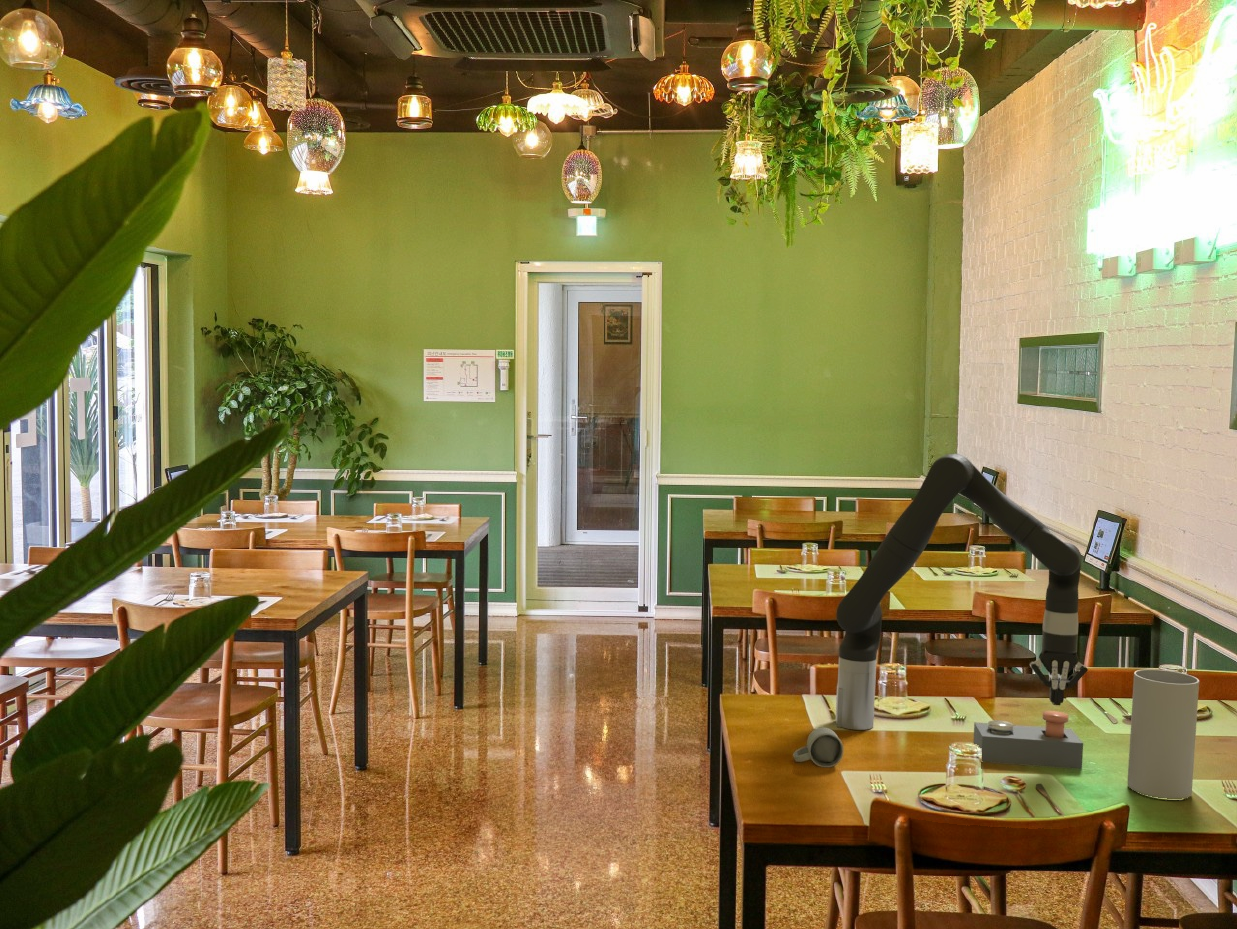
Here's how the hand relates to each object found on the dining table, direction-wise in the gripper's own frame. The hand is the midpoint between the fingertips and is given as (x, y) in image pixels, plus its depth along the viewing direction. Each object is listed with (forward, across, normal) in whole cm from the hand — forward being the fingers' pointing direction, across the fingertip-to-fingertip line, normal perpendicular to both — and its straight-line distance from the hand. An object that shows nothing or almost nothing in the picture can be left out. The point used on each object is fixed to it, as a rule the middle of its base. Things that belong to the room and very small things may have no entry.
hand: (1056, 704), depth 264 cm
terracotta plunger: (+9, 0, 0) cm, 9 cm away
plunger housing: (+13, -6, 0) cm, 14 cm away
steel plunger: (+12, -12, 0) cm, 17 cm away
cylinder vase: (+13, +18, -17) cm, 28 cm away
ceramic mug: (+13, -54, -14) cm, 57 cm away
